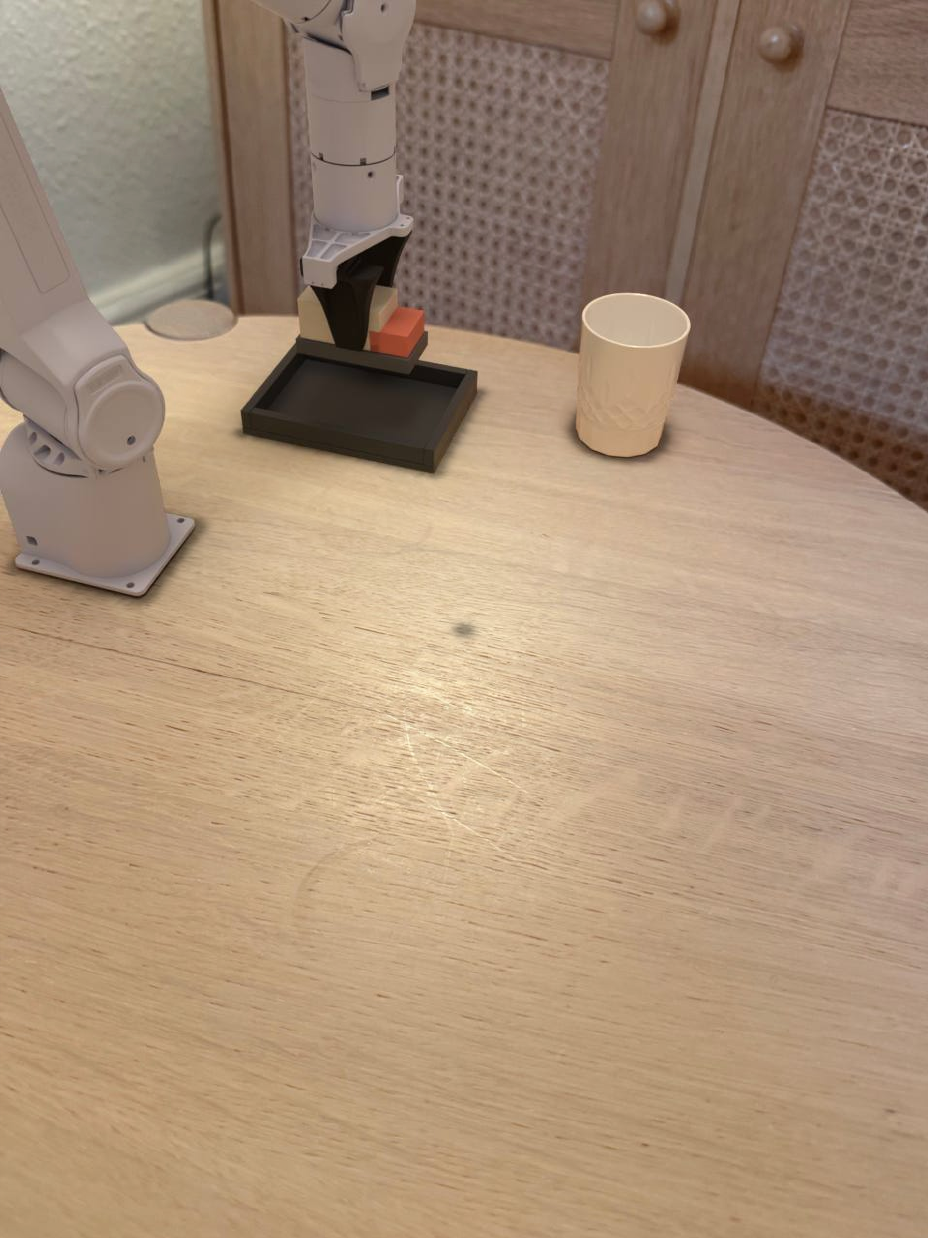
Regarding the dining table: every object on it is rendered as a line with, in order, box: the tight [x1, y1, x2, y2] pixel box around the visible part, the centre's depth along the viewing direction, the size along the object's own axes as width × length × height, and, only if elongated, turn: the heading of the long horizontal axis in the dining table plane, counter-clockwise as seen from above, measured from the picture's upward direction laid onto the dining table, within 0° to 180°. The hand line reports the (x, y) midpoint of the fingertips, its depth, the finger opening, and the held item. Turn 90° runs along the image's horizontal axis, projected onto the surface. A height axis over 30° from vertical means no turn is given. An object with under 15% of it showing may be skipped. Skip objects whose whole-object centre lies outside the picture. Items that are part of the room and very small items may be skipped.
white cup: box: [575, 292, 692, 458], centre depth 82 cm, size 8×8×10 cm
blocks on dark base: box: [294, 285, 429, 374], centre depth 81 cm, size 9×4×4 cm, turn 73°
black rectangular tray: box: [240, 341, 479, 474], centre depth 86 cm, size 16×12×2 cm
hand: (360, 332), depth 81 cm, fingers closed on blocks on dark base, 4 cm apart
